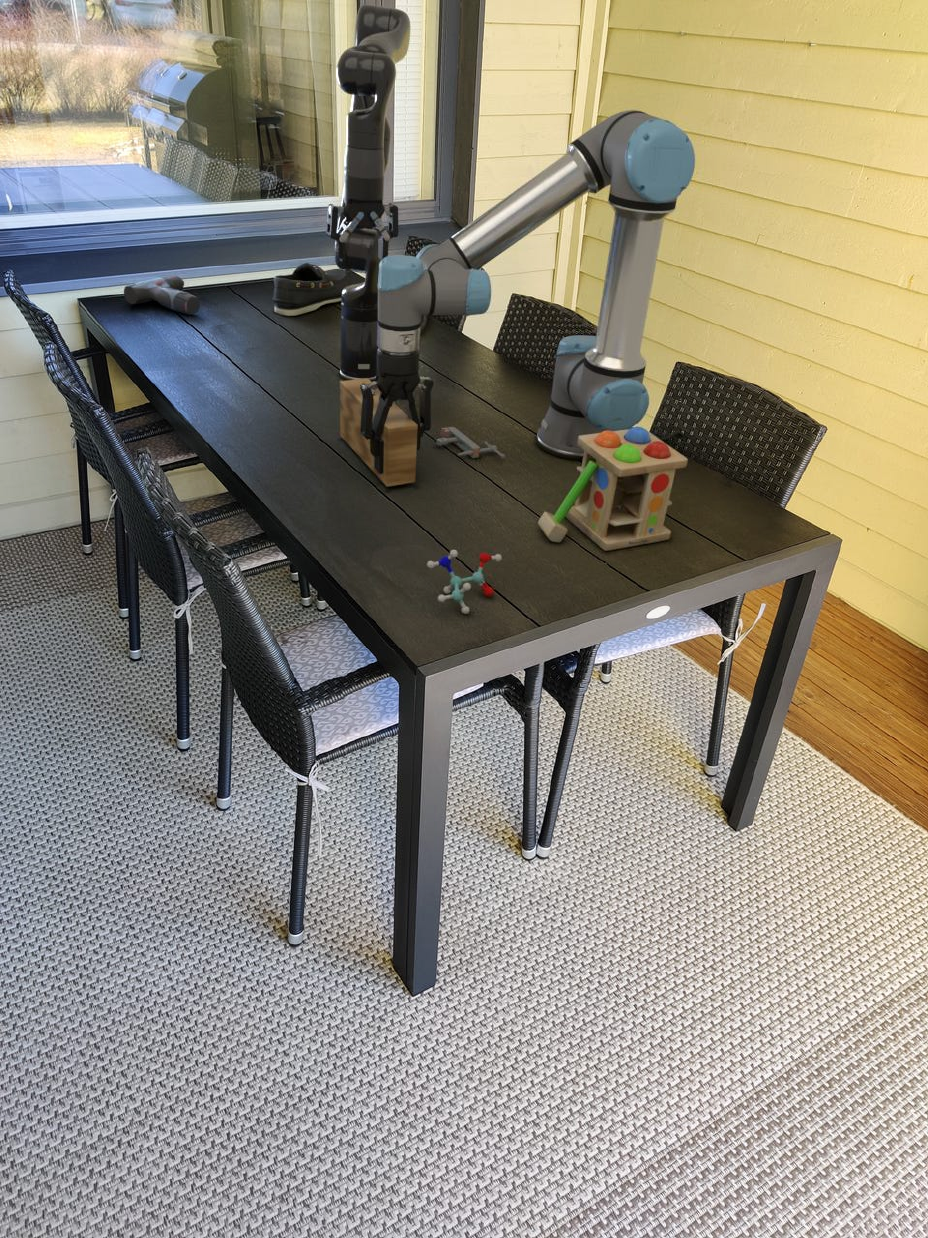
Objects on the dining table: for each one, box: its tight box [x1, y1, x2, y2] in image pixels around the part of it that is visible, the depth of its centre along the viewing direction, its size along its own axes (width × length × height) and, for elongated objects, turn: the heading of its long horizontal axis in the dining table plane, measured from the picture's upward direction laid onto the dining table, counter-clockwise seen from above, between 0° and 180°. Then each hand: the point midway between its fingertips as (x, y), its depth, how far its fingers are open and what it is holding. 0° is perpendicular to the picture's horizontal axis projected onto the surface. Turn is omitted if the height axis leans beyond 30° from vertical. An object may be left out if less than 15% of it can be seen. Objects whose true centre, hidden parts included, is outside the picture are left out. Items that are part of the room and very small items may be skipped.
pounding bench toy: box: [537, 426, 689, 552], centre depth 173 cm, size 23×14×18 cm, turn 116°
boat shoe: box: [272, 262, 352, 317], centre depth 274 cm, size 13×33×10 cm, turn 147°
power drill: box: [123, 275, 201, 316], centre depth 262 cm, size 5×19×20 cm
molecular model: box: [426, 549, 503, 615], centre depth 154 cm, size 12×10×10 cm
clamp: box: [436, 426, 507, 460], centre depth 201 cm, size 15×2×10 cm
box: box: [339, 378, 418, 488], centre depth 190 cm, size 24×6×12 cm, turn 27°
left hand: (362, 259), depth 196 cm, fingers open, 8 cm apart
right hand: (394, 467), depth 186 cm, fingers closed on box, 6 cm apart
